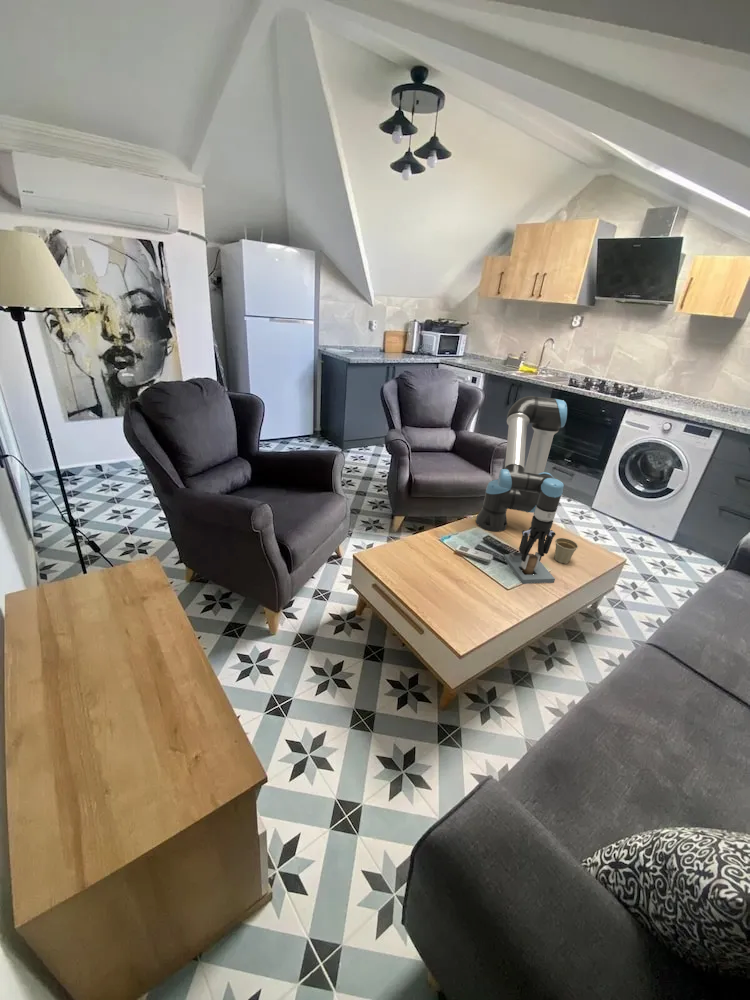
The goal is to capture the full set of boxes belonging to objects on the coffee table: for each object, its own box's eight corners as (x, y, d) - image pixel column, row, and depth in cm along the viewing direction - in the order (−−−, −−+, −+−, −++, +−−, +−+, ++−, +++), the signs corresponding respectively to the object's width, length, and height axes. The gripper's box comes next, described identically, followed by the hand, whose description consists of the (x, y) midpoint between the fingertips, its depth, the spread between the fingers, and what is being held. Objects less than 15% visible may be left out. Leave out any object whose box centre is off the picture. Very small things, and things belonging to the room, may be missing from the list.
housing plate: (503, 558, 182) (504, 554, 182) (532, 557, 185) (533, 553, 184) (522, 583, 167) (523, 579, 166) (553, 582, 169) (555, 578, 168)
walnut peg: (519, 569, 174) (524, 553, 170) (529, 569, 175) (534, 553, 171) (524, 576, 170) (529, 559, 166) (534, 575, 171) (539, 559, 167)
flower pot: (548, 561, 183) (554, 544, 180) (551, 551, 191) (556, 535, 187) (571, 568, 180) (577, 551, 176) (573, 558, 187) (578, 541, 184)
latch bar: (508, 557, 180) (510, 551, 178) (525, 557, 181) (527, 551, 180) (511, 561, 177) (513, 555, 176) (529, 561, 178) (530, 555, 177)
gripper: (527, 522, 156) (513, 573, 166) (568, 522, 159) (552, 572, 169) (518, 512, 163) (505, 562, 173) (558, 513, 166) (543, 561, 176)
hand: (528, 567), depth 171 cm, fingers closed on walnut peg, 4 cm apart
